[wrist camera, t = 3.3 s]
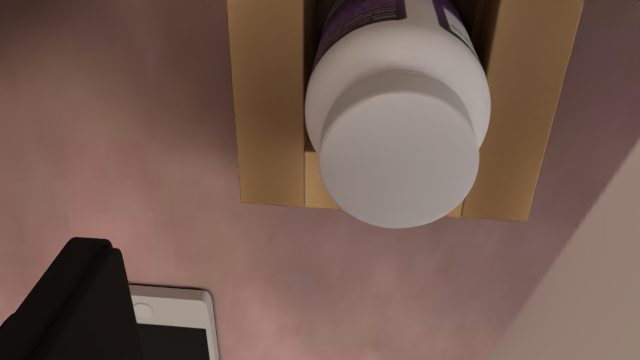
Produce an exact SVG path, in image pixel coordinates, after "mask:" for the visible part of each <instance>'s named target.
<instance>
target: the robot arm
mask: <svg viewBox="0 0 640 360" xmlns="http://www.w3.org/2000/svg"><path fill="white" fill-rule="evenodd" d="M0 360H144V353H143V348H142V344H141V339H140V334H139V330H138V325H137V321H136V316H135V312H134V307H133V303H132V298H131V293H130V289H129V284H128V280H127V275H126V271H125V266H124V262H123V257H122V253H121V251H120V250H119V249H117V248H113V247H112V244H111V242H110V241H109V240H107V239H97V238H82V237H74V238H71V239H70V240H69V241H68V242H67V244H66V245H65V246H64V248H63V249H62V250H61V252H60V253H59V254H58V256H57V257H56V258H55V260H54V261H53V262H52V264H51V265H50V266H49V268H48V269H47V270H46V272H45V273H44V274H43V276H42V277H41V278H40V280H39V281H38V282H37V284H36V285H35V286H34V288H33V289H32V290H31V292H30V293H29V294H28V296H27V297H26V298H25V300H24V301H23V302H22V304H21V305H20V306H19V308H18V309H17V310H16V312H15V313H14V314H12V315H10V316H9V317H8V318H7V319H6V320H5V321H4V322H3V324H2V325H1V326H0Z"/></svg>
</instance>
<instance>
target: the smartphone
mask: <svg viewBox="0 0 640 360" xmlns="http://www.w3.org/2000/svg"><path fill="white" fill-rule="evenodd" d="M129 289H130V293H131V298H132V303H133V307H134V312H135V316H136V321H137V325H138V330H139V334H140V339H141V344H142V348H143V353H144V360H219V354H218V346H217V337H216V329H215V321H214V313H213V305H212V299H211V296H210V294H209V293H208V292H207V291H202V290H189V289H176V288H163V287H150V286H137V285H129Z"/></svg>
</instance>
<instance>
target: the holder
mask: <svg viewBox="0 0 640 360" xmlns="http://www.w3.org/2000/svg"><path fill="white" fill-rule="evenodd" d="M584 1H585V0H477V1H476V8H475V14H474V20H473V26H472V33H471V39H470V40H471V43H472V45H473V47H474V50H475V52H476V54H477V56H478V59H479V61H480V63H481V65H482V68H483V70H484V73H485V76H486V79H487V83H488V87H489V92H490V99H491V113H490V120H489V125H488V129H487V132H486V135H485V138H484V140H483V142H482V145H481V146H480V148H479V167H478V172H477V176H476V179H475V182H474V184H473V186H472V188H471V190H470V191H469V193H468V194H467V196H466V197H465V198H464V199H463V201H462V202H461V203H460V204H459V205H458V206H457V207H456V208H454V209H453V210H452V211H451V212H449V213H448V214H446V215H445V217H460V216H461V217H464V218H479V219H494V220H509V221H524V222H525V221H527V219H528V215H529V212H530V208H531V204H532V200H533V196H534V192H535V189H536V185H537V181H538V177H539V173H540V170H541V166H542V162H543V158H544V154H545V150H546V147H547V143H548V139H549V135H550V131H551V127H552V124H553V120H554V116H555V112H556V108H557V105H558V101H559V97H560V93H561V89H562V85H563V82H564V78H565V74H566V70H567V66H568V63H569V59H570V55H571V51H572V47H573V43H574V40H575V36H576V32H577V28H578V24H579V21H580V17H581V13H582V9H583V5H584ZM226 4H227V18H228V32H229V45H230V59H231V73H232V86H233V100H234V114H235V128H236V141H237V155H238V169H239V183H240V196H241V203H250V204H265V205H280V206H295V207H304V206H305V207H310V208H325V209H340V210H342V209H341V208H340V207H339V206H338V205H337V204H336V203H335V202H334V201H333V200H332V198H331V197H330V195H329V194H328V193H327V191H326V189H325V187H324V185H323V182H322V179H321V176H320V171H319V161H318V157H319V156H318V154H317V153H316V151H315V149H314V147H313V145H312V143H311V141H310V138H309V135H308V132H307V128H306V122H305V100H306V92H307V88H308V83H309V79H310V76H311V72H312V68H313V65H314V61H315V54H316V0H226Z"/></svg>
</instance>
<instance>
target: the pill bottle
mask: <svg viewBox="0 0 640 360" xmlns="http://www.w3.org/2000/svg"><path fill="white" fill-rule="evenodd" d="M490 113H491V99H490V92H489V87H488V83H487V79H486V76H485V73H484V70H483V68H482V65H481V63H480V61H479V59H478V56H477V54H476V52H475V50H474V47H473V45H472V43H471V40H470V38H469V35H468V33H467V31H466V29H465V26H464V24H463V21H462V19H461V17H460V15H459V12H458V11H457V9H456V7H455V5H454V4H453V2H452V0H336V2H335V3H334V5H333V6H332V8H331V10H330V12H329V14H328V16H327V19H326V21H325V24H324V27H323V31H322V34H321V39H320V43H319V46H318V50H317V54H316V57H315V61H314V65H313V68H312V72H311V76H310V79H309V83H308V88H307V92H306V100H305V122H306V128H307V132H308V135H309V138H310V141H311V143H312V145H313V147H314V149H315V151H316V153H317V154H318V156H319V157H318V161H319V171H320V176H321V179H322V182H323V185H324V187H325V189H326V191H327V193H328V194H329V195H330V197H331V198H332V200H333V201H334V202H335V203H336V204H337V205H338V206H339V207H340V208H341V209H342V210H343V211H345V212H346V213H347V214H349V215H351V216H352V217H354V218H356V219H358V220H360V221H363V222H365V223H368V224H370V225H374V226H378V227H384V228H394V229H399V228H411V227H416V226H421V225H424V224H428V223H430V222H433V221H435V220H437V219H439V218H441V217H443V216H445V215H446V214H448V213H449V212H451V211H452V210H453V209H454V208H456V207H457V206H458V205H459V204H460V203H461V202H462V201H463V199H464V198H465V197H466V196H467V194H468V193H469V191H470V190H471V188H472V186H473V184H474V182H475V179H476V176H477V172H478V167H479V148H480V146H481V145H482V142H483V140H484V138H485V135H486V132H487V129H488V125H489V120H490Z"/></svg>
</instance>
